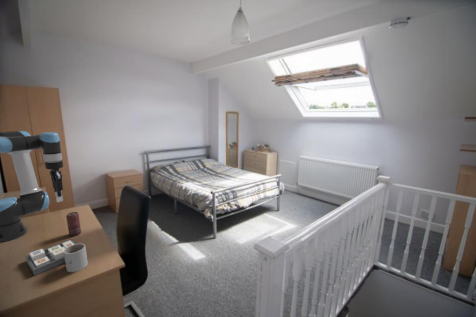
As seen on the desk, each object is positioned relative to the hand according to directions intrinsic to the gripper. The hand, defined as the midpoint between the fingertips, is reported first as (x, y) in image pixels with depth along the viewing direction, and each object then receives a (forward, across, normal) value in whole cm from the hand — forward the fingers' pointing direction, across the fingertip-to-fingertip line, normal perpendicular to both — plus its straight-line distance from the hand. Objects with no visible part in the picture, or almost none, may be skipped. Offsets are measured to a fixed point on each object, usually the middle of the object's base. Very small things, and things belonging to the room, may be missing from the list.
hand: (59, 201), depth 124 cm
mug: (+26, +27, -3) cm, 38 cm away
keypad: (+26, +12, -8) cm, 30 cm away
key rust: (+25, +16, -14) cm, 33 cm away
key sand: (+24, +16, -7) cm, 29 cm away
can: (+27, -7, +7) cm, 28 cm away
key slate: (+24, +9, -14) cm, 29 cm away
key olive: (+26, +9, -7) cm, 28 cm away
